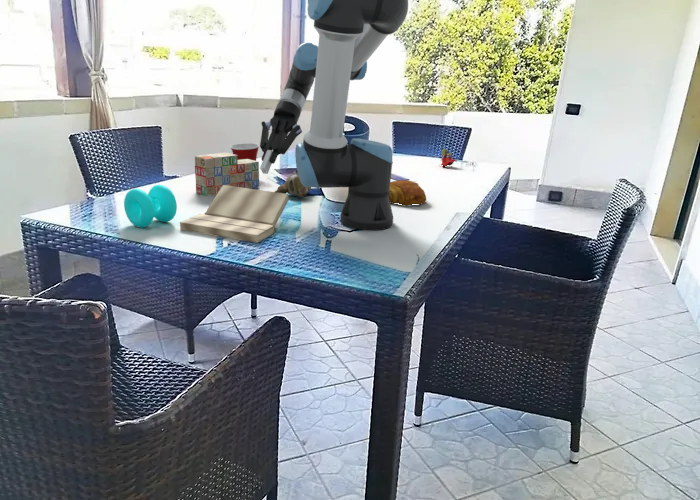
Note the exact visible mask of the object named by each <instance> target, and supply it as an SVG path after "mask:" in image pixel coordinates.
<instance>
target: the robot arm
mask: <svg viewBox="0 0 700 500" xmlns="http://www.w3.org/2000/svg"><path fill="white" fill-rule="evenodd" d="M408 11H409V0H307V15H308V17H309V19H311V20H313V28H314V29H315V31H316V32H317V33H318V43H317V45H316V44H313V43H312V42H304V43H301V44H299V46H298V47H297V49H296V51H295V53H294V56H293V59H292V64H291V67H290V68H291V69H290V71H289V74H288V78H287V80H286V83H285V86H284V89H283V91H282V92H281V95H280V98H279V100H278V102H277V104H276V107H275V110H274V113H273V116H272V118H270V120H269V121H267V122H266V121H261V122H260V123H261V127H262V129H261V137H260V141H259V148H260V149H261V151H262V153H263V154H262V156H261V165H260V166H259V170H260V171H261V173H262V174H264V175H265V174H266V175H268V174H269V172H270V170H271V169H270V168H272V164H273V165H274V164H275V163H276V160H277V158H278V156H280V155H282V156H284V155H285V154H286V153H287V152H288V150H289V148H290V147H291V146H292V144H293V142H294V141H295V140H296V138H297V137H298V136H299V135H300V134H303V130H302V128H301V126H300V125H299V124H297V123H298V121H299V119H300V117H301V113H302V111H303V110H304V109H303V108H304V106H305V103H306V101H307V98H308V95H309V94H310V92H311V88H312V87H313V85H314V87H313V97H312V98H313V99H312V107H311V108H312V109H311V119H310V129H309V131H307V132H306V133H304V136H303V141H302V142H300V143H297V144H296V145H295V150H294V152H295V153H294V154H295V165H296V166H295V167H296V170H297V172H298V176H299V179H300V182H301V184H302V185H303V186H305V187H311V188H314V189H315V188H316V189H320V188H323V189H325V188H327V189H329V188H330V189H331V188H348V190H347V191H348V192H347V196H346V199H345V200H344V203H343V204H344V205H343V206H342V209H341V212H340V219H339V220H340V223H341V224H343V225H344V226H346V227H349V228H353V229H357V230H363V231H365V230H366V231H379V230H381V231H382V230H385V229H389V228H391V227H392V226H393V225H394V214H393V210H392V206H391V203H390V200H389V191H390V182H392V181H391V178H392V171H393V170H392V169H393V163H394V162H393V148H392V147H391V146H390V145H389V144H386V143H383V142H379V141H376V140H370V139H369V140H368V139H364V138H354V137H353V138H352V139H351V141H350V143H349V144H348V142H349V141H348V139H347V138H346V137H345V135H344V127H345V120H346V113H347V105H348V99H349V98H348V97H349V90H350V83H351V82H350V81H361V80H363V79H364V78H365V77H366V73H367V71H368V70H367V69H368V60H369V59H370V57H371V56H372V55H373V54H374V53H375V52H376V50H377V49H378V48H379V47H380V45H381V44H382V43H383V42H384V41H385V40H386V38H387V37H388V35H389V36H390V35H392V34H394V33H396V32H397V31H398V30H399V28H400V27H401V26H402V25H403V24H404V22H405V20H406V18H407V15H408ZM270 130H271V132H270Z"/></svg>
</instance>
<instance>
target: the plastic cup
mask: <svg viewBox="0 0 700 500" xmlns="http://www.w3.org/2000/svg"><path fill="white" fill-rule="evenodd" d="M229 148H230V150H231V152H232V154H234V155H237V160H242V159H250V160H254V161H257V157H258V152H259V148H260V144H258V143H251V142H248V143H246V142H244V143H235V144H231V145H229Z"/></svg>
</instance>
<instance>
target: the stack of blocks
mask: <svg viewBox="0 0 700 500" xmlns="http://www.w3.org/2000/svg"><path fill="white" fill-rule="evenodd" d="M259 163H260V162H259V161H258V160H256V161H254V160H250V159H242V160H237V155H234V154H233V153H230V152H217V153H207V154H200V155H194V172H195V173H194V174H195V175H194V176H195V177H194V178H195V193H197V194H200V195H203V196H205V197H209V196H210V197H211V196H216V195H217V194H218V192H219V191H220V189H221V187H222V186H223V185H227V186H235V187H242V188H249V189H259V188H260V164H259Z"/></svg>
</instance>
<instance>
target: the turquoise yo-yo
mask: <svg viewBox="0 0 700 500" xmlns="http://www.w3.org/2000/svg"><path fill="white" fill-rule="evenodd" d="M177 203H178V202H177V200H176V197H175V194H174V193H173V191H172V190H171V189H170V188H169V187H168V186H166V185H163V184H156V185H153V186H152V187H151V188H150V190H149V191H148V193H147V192H146V191H145V190H142V189H140V188H132V189H130V190H128V192H126V194H125V196H124V200H123V207H124V211H125V215H126V218H127V219H128V220H129V222H130V223H131V224H132V225H133V226H135V227H137V228H141V229H143V228H146V227H148V226H150V225H151V223H152V222H153V220H154V218H155V220H157V221H159V222H162V223H168V222H171V221H172V220H173V219H174V218H175V216H176V214H177V210H178V208H177V207H178V205H177Z"/></svg>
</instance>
